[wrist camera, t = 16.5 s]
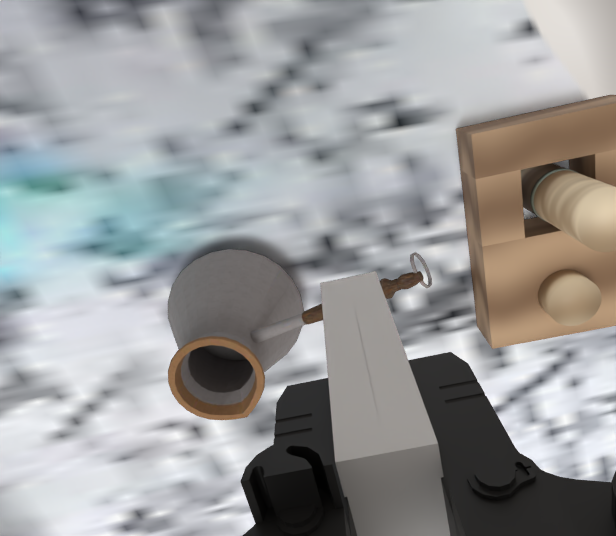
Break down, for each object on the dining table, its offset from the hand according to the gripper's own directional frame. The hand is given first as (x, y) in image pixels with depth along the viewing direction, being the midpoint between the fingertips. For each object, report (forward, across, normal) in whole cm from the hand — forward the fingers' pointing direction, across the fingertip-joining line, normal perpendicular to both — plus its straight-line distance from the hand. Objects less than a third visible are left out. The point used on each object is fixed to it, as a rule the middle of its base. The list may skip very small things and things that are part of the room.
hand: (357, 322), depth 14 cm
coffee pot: (+29, -5, -9) cm, 31 cm away
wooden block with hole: (+29, +17, -10) cm, 35 cm away
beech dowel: (+29, +17, -6) cm, 34 cm away
